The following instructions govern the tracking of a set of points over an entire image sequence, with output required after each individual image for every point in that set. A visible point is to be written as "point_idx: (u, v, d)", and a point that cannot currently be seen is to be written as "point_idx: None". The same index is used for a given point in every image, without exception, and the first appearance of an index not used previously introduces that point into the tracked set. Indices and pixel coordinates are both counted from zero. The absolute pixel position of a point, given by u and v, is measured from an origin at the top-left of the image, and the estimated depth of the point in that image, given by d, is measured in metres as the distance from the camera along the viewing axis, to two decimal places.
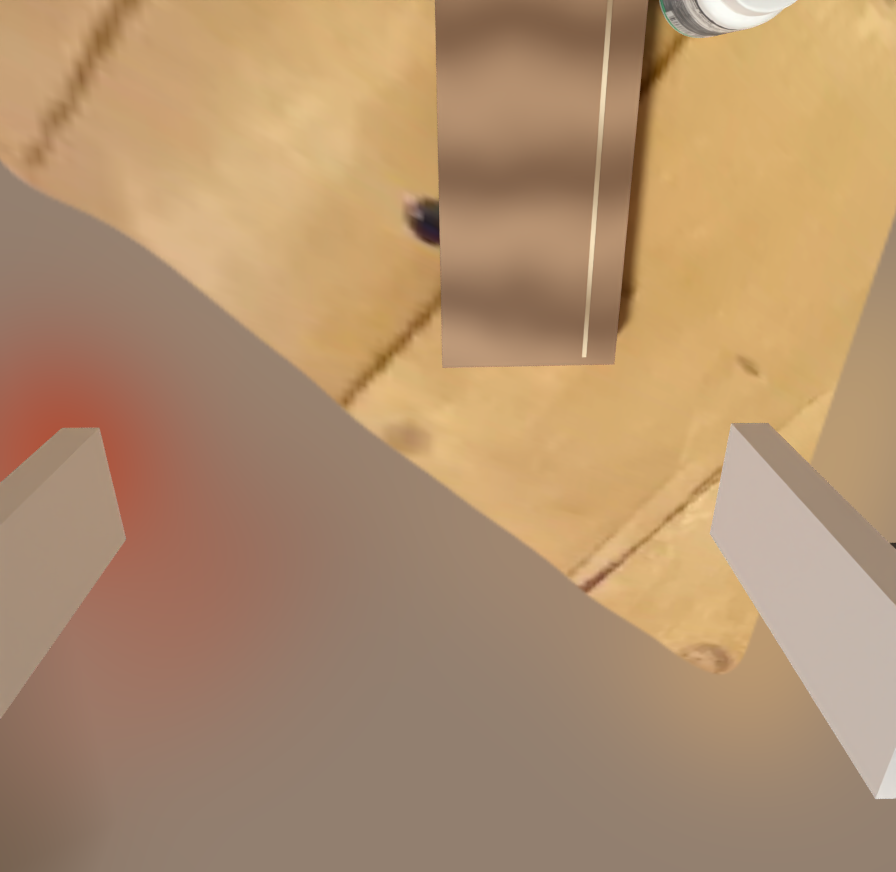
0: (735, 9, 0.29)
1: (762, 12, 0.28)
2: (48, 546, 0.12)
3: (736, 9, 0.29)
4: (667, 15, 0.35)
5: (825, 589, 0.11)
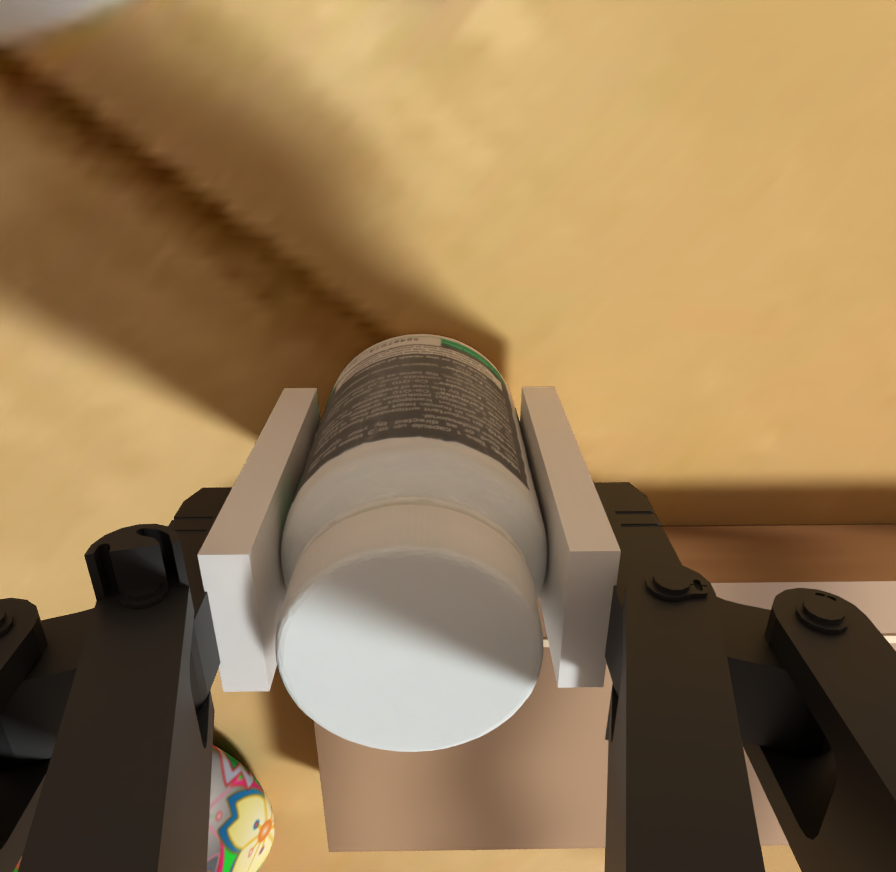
0: None
1: (541, 659, 0.10)
2: None
3: None
4: None
5: (545, 519, 0.13)
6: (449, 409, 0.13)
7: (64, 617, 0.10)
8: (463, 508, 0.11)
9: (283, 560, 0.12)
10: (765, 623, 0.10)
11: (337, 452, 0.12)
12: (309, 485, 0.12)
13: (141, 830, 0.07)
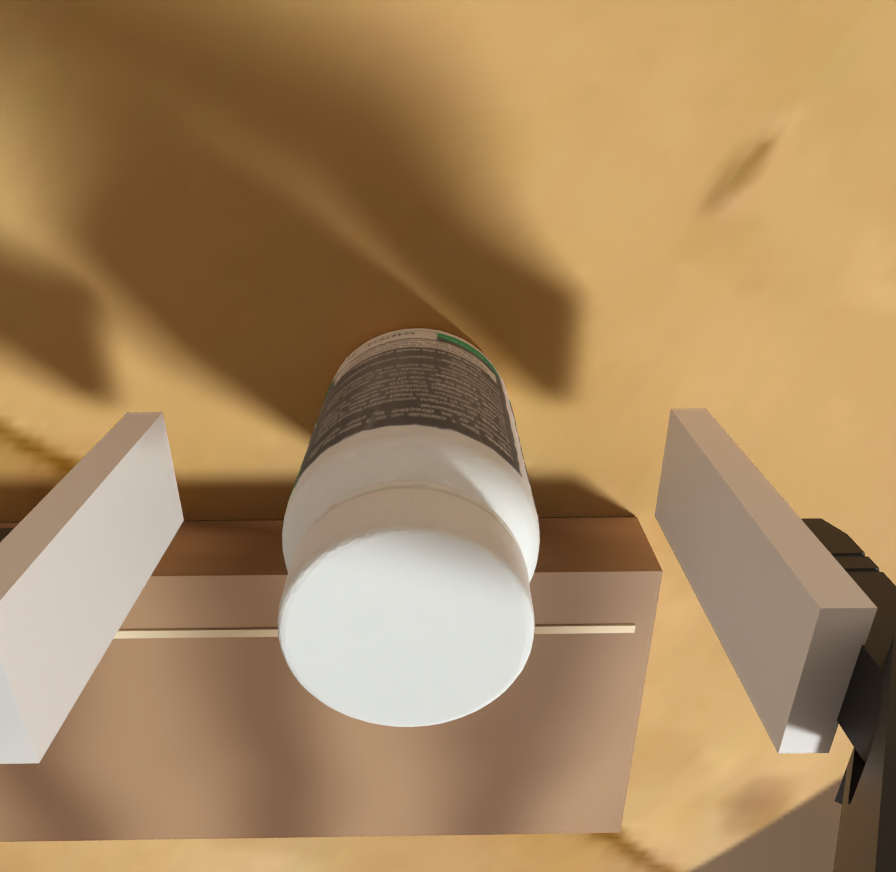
0: None
1: (533, 636, 0.11)
2: (123, 522, 0.13)
3: None
4: None
5: (741, 561, 0.12)
6: (444, 399, 0.13)
7: None
8: (458, 492, 0.11)
9: (284, 544, 0.12)
10: None
11: (337, 440, 0.12)
12: (309, 471, 0.12)
13: None
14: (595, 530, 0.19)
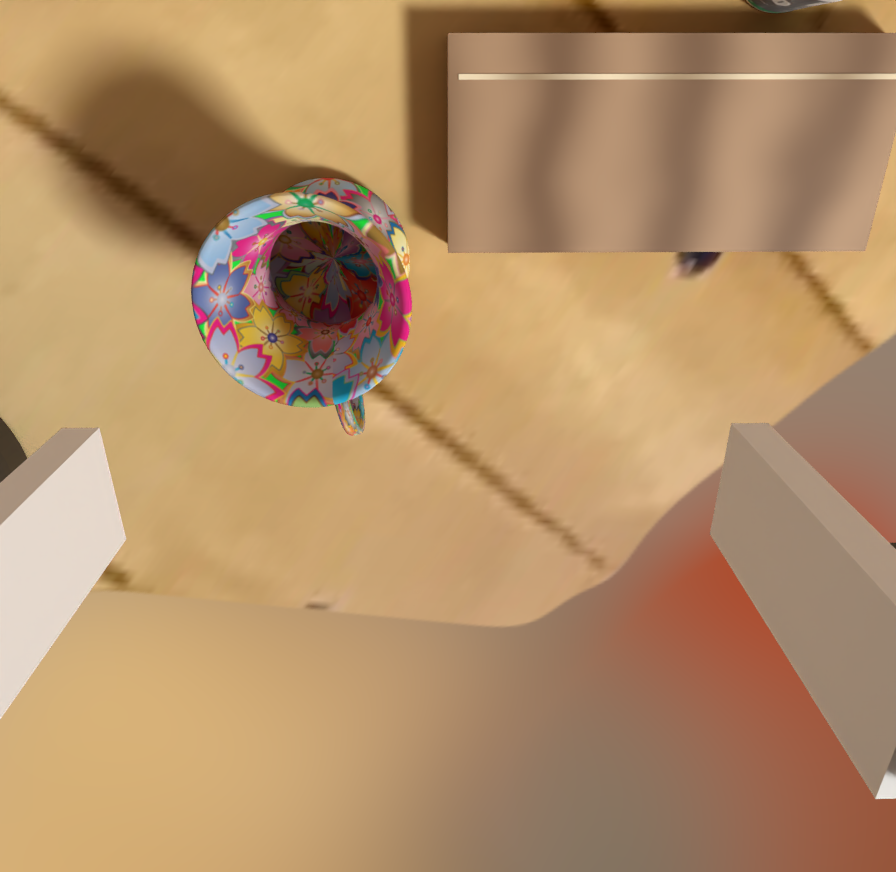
0: None
1: None
2: (48, 546, 0.12)
3: None
4: None
5: (825, 589, 0.11)
6: None
7: None
8: None
9: None
10: None
11: None
12: None
13: None
14: None
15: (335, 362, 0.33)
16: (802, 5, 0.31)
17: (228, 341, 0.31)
